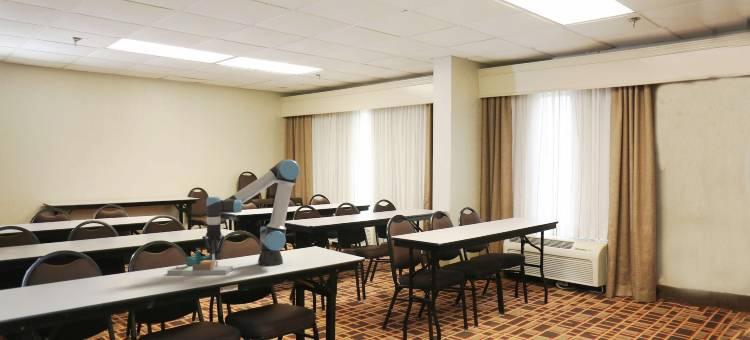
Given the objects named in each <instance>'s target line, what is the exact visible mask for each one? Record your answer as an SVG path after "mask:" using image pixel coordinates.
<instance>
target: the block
mask: <svg viewBox="0 0 750 340" xmlns="http://www.w3.org/2000/svg"><path fill="white" fill-rule="evenodd" d="M202 264H211V269H213V268H214V267H215V266H212V260H204V261H202V262H201V265H202Z"/></svg>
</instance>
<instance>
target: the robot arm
mask: <svg viewBox="0 0 750 340" xmlns="http://www.w3.org/2000/svg"><path fill="white" fill-rule="evenodd" d="M300 171H301V169H300V166H299V164H298V163H297V162H296V161H295V160H293V159H282V160H280V161H279V162H277V163H276V164H275V165H274V166H273V167H271V168H270V169H268V172H266V173H265V174H263V175H262V176H261V177H259V178H257V179H255V180H254V181H253V182H251V183H249V184H248V185H246V186H245V187H243V188H241V189H240V190H238V191H237V192H235V193H233V194H232V195H230V196H228V197H227V198H225V199H221V197H220V196H209V197H207V198H206V205H205V206H206V208H205V209H206V224H207V225H206V233H205V235H204V236H202V240H203V242H204V246H205V250H206V253H207V254H209V255H210V258H211V260H212V266H216V261H218V260H219V253H222V249H223V245H224V240H225V239H226V236H225V235H223V234H222V232H221V230H222V229H221V214H236V213H241V212H242V211H243V204H244V203H246V202H247V201H249V200H250V199H252V198H254V197H255V196H256V195H258V194H260V193H261V192H263V191H264V190H266V189H267V188H269V187H270V186H272V185H273V184H277V188H276V191H275V197H274V202H273V207H272V210H271V211H272V212H271V217H270V221H269V223H268V224H267V225H266V226H261V227H260V229H259V234H260V235H259V238H260V240H259V241H260V243H259V244H260V245H259V246H260V253H259V256H258V258H257V259H258V260H257V265H258V266H266V267H267V266H279V265H282V264H283V263H284V259H283V256H282V253H281V249H282V248H283V247H284V246H285V244H286V240H287V239H286V232H287V227H286V226H285V224H286V219H287V215H288V214H287V213H288V208H289V204H290V200H291V194H292V191H293V186H295V185H296V183H297V179H298V176H299V175H300ZM219 239H220V240H219ZM214 251H215V253H214ZM213 253H214V254H213Z"/></svg>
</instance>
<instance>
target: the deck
mask: <svg viewBox="0 0 750 340" xmlns="http://www.w3.org/2000/svg"><path fill="white" fill-rule="evenodd" d="M201 262H202V261H200V265H192V266H187V265H186V266H184V265H183V266H175V267H172V268H170V269H168V270H167V271H166V273H167V276H193V275H194V276H205V275H206V276H212V275H213V276H218V275H219V276H221V275H226V276H227V275H228V274H229V273H231V272H232V271H234V266H233V265H218V262H219V261H218V260H216V266H215V267H214V268H213V269H211V264H202V265H201Z"/></svg>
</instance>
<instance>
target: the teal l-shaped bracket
mask: <svg viewBox="0 0 750 340" xmlns="http://www.w3.org/2000/svg"><path fill="white" fill-rule="evenodd" d="M214 253H215V250H214ZM214 253H213V254H214ZM204 260H211V258H210V254H209V255H207V256H204V255H203V256H202V255H201V251H199V250H195V254H194V256H187V257H186V266H192V265H200V261H204Z"/></svg>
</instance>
